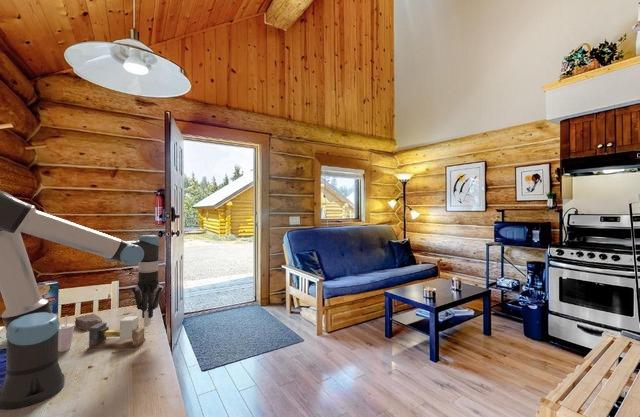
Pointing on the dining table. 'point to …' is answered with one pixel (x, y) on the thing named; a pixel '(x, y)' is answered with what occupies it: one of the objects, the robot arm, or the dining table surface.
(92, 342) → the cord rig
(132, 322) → the sleeve
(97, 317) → the stone
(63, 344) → the smoothie
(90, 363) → the dining table surface
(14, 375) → the robot arm
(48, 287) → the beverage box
